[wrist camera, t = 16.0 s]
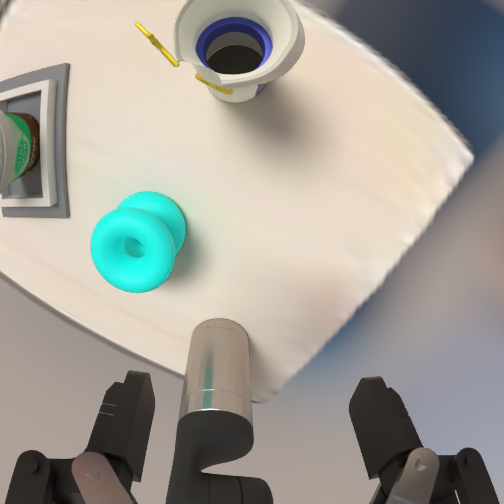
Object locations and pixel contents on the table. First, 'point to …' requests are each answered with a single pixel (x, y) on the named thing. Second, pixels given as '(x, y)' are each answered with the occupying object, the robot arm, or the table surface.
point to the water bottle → (236, 41)
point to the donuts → (138, 242)
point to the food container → (17, 146)
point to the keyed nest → (51, 143)
